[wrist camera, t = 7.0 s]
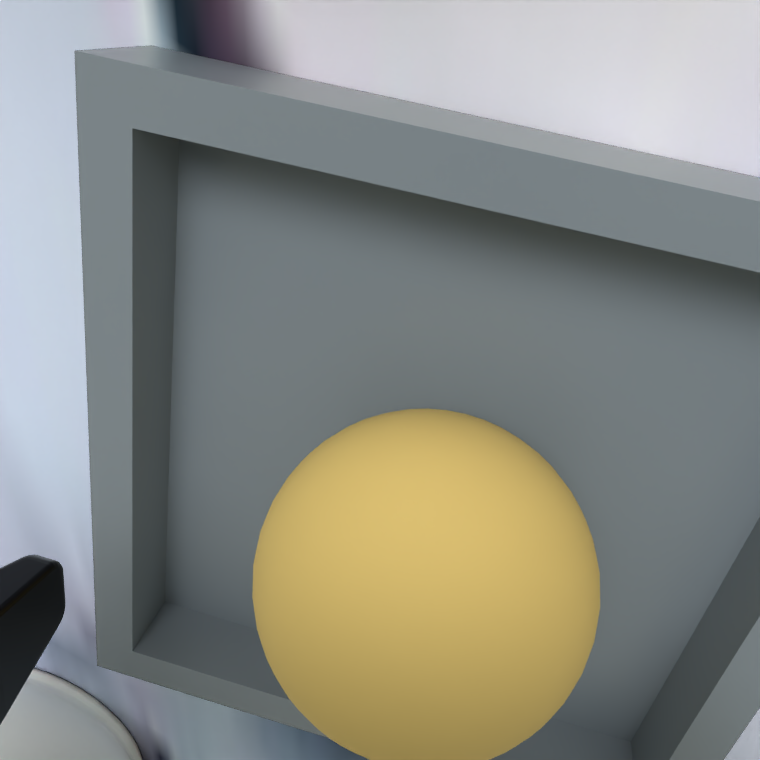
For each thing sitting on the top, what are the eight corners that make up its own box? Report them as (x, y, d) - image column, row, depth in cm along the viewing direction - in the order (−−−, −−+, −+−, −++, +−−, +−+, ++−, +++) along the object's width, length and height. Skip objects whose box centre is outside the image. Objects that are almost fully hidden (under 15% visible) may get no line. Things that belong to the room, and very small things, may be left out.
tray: (969, 223, 10) (1064, 267, 8) (651, 749, 15) (665, 843, 14) (151, 45, 11) (73, 50, 9) (144, 597, 17) (97, 665, 15)
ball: (630, 395, 11) (693, 641, 7) (540, 613, 14) (544, 898, 9) (327, 321, 12) (203, 508, 7) (293, 546, 14) (184, 786, 10)
